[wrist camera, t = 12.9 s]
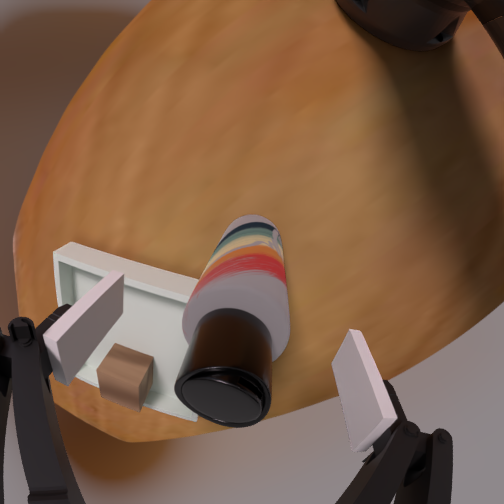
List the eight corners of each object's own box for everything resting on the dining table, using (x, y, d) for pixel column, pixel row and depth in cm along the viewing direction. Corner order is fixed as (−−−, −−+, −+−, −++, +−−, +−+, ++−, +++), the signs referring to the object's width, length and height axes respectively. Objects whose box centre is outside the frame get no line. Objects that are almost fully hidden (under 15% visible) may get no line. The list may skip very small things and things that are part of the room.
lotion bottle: (292, 246, 28) (325, 416, 9) (248, 277, 29) (218, 454, 11) (256, 201, 26) (224, 326, 8) (212, 236, 28) (121, 387, 9)
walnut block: (115, 342, 31) (96, 369, 26) (153, 356, 32) (138, 387, 26) (117, 370, 33) (101, 396, 28) (152, 383, 33) (139, 412, 28)
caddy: (76, 238, 29) (53, 252, 25) (229, 282, 30) (222, 305, 25) (86, 356, 36) (72, 375, 32) (202, 397, 37) (196, 422, 32)
